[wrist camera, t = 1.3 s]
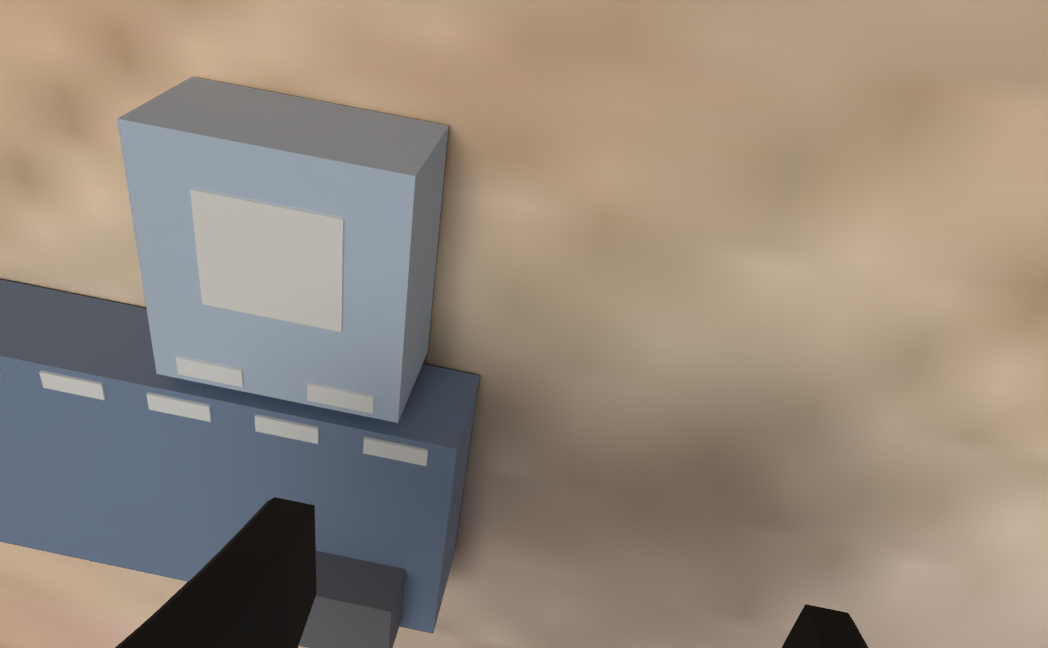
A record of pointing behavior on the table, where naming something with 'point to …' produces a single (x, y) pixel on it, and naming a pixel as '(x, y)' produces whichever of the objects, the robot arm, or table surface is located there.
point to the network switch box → (222, 466)
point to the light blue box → (286, 243)
